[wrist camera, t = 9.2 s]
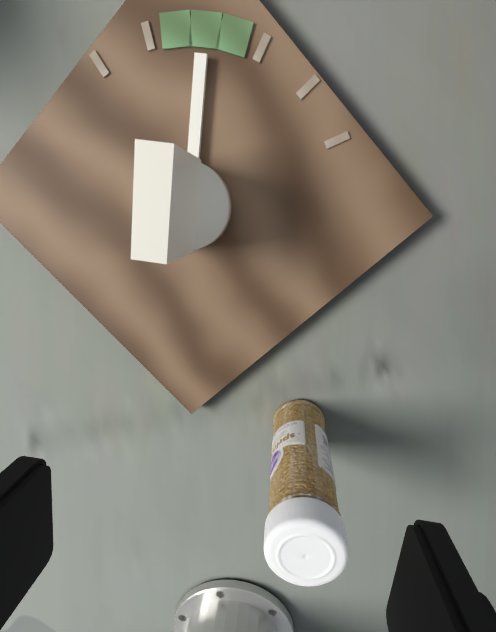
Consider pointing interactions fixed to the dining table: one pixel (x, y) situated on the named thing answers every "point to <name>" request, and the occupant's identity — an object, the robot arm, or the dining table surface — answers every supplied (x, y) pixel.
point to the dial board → (229, 163)
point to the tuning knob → (177, 191)
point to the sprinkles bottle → (303, 500)
